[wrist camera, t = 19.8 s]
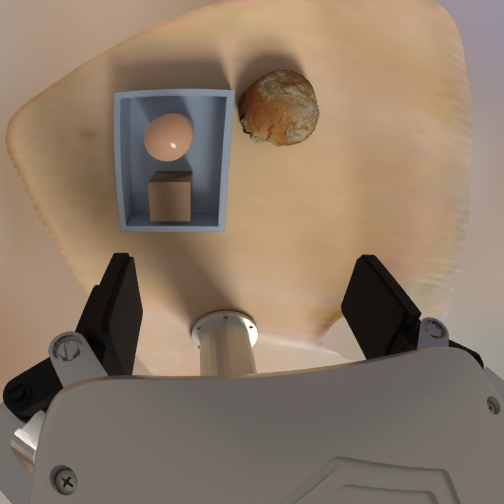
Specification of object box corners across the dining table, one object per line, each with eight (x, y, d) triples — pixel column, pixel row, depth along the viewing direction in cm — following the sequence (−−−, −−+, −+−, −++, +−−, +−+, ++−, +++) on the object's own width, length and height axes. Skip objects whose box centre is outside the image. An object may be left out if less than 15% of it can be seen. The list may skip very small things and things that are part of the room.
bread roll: (302, 130, 39) (343, 129, 32) (249, 160, 36) (287, 163, 30) (278, 69, 33) (317, 57, 27) (218, 93, 31) (251, 79, 24)
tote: (222, 216, 40) (224, 232, 36) (129, 215, 38) (120, 231, 34) (231, 91, 31) (235, 90, 27) (126, 92, 29) (114, 92, 25)
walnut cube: (192, 170, 36) (190, 182, 31) (192, 205, 38) (190, 221, 34) (155, 171, 35) (147, 182, 31) (156, 205, 37) (150, 221, 33)
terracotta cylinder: (195, 111, 32) (192, 114, 26) (193, 149, 34) (190, 161, 28) (156, 111, 31) (144, 115, 25) (155, 149, 33) (144, 161, 27)
